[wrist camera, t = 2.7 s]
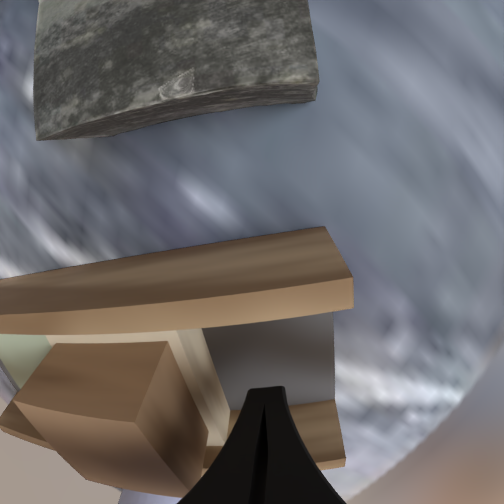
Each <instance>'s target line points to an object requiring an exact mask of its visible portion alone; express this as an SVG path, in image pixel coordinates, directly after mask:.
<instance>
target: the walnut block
mask: <svg viewBox="0 0 504 504" xmlns="http://www.w3.org/2000/svg"><path fill="white" fill-rule="evenodd" d="M13 401H14V403H15V404H16V405H17V407H18V408H19V409H20V411H21V412H22V413H23V414H24V416H25V417H26V418H27V419H28V420H29V422H30V423H31V424H32V425H33V426H34V427H35V429H36V430H37V431H38V432H39V433H40V434H41V435H42V437H43V438H44V439H45V440H46V441H47V442H48V443H49V444H50V445H51V446H52V447H53V448H54V449H55V450H56V451H57V453H58V454H59V455H60V456H62V457H63V459H64V460H66V461H67V462H68V463H69V464H70V465H71V466H72V467H73V468H74V469H75V470H76V471H77V472H78V473H80V475H81V476H83V477H84V478H85V479H86V480H90V481H93V482H97V483H101V484H105V485H109V486H113V487H118V488H122V489H127V490H132V491H137V492H143V493H149V494H155V495H162V496H169V497H178V498H183V497H184V496H185V495H186V494H187V493H188V492H189V491H190V490H191V489H192V488H193V487H194V486H195V484H196V483H197V482H198V481H199V480H200V478H201V474H202V468H203V462H204V456H205V451H206V445H207V439H208V434H209V430H208V428H207V426H206V424H205V422H204V420H203V418H202V416H201V414H200V412H199V410H198V408H197V406H196V404H195V402H194V400H193V398H192V395H191V393H190V391H189V389H188V387H187V385H186V382H185V380H184V378H183V376H182V373H181V371H180V369H179V366H178V364H177V362H176V359H175V357H174V355H173V352H172V350H171V347H170V345H169V342H168V341H155V342H131V343H56V344H55V345H54V346H53V347H52V349H51V350H50V351H49V352H48V354H47V355H46V356H45V358H44V359H43V360H42V361H41V363H40V364H39V365H38V367H37V368H36V369H35V371H34V372H33V373H32V375H31V376H30V377H29V379H28V380H27V381H26V383H25V384H24V385H23V387H22V388H21V389H20V391H19V392H18V394H17V395H16V396H15V398H14V399H13Z"/></svg>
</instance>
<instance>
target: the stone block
mask: <svg viewBox="0 0 504 504" xmlns="http://www.w3.org/2000/svg"><path fill="white" fill-rule="evenodd" d="M38 1H39V9H38V17H37V26H36V39H35V49H34V86H33V97H34V118H35V131H36V141H41V140H59V139H73V138H89V137H107V136H115V135H117V134H119V133H123V132H127V131H131V130H135V129H139V128H142V127H146V126H149V125H154V124H158V123H162V122H167V121H171V120H176V119H181V118H186V117H191V116H196V115H201V114H207V113H212V112H222V111H227V110H233V109H240V108H245V107H252V106H259V105H273V104H282V103H290V104H296V103H306V102H310V101H315V100H316V95H317V85H318V83H319V73H318V64H317V56H316V49H315V42H314V36H313V31H312V25H311V19H310V12H309V6H308V0H38Z"/></svg>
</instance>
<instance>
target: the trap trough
mask: <svg viewBox="0 0 504 504" xmlns="http://www.w3.org/2000/svg"><path fill="white" fill-rule="evenodd" d="M351 308H354V294H353V276H352V274H351V273H350V271H349V269H348V267H347V265H346V263H345V261H344V260H343V258H342V256H341V254H340V252H339V251H338V249H337V247H336V245H335V243H334V242H333V240H332V238H331V236H330V235H329V233H328V231H327V229H326V228H325V226H324V227H317V228H310V229H304V230H297V231H290V232H283V233H277V234H270V235H263V236H257V237H250V238H244V239H237V240H231V241H224V242H218V243H211V244H205V245H199V246H193V247H186V248H180V249H174V250H168V251H162V252H155V253H149V254H143V255H137V256H131V257H125V258H119V259H114V260H108V261H102V262H96V263H90V264H84V265H79V266H73V267H67V268H62V269H56V270H50V271H45V272H39V273H34V274H28V275H23V276H17V277H12V278H7V279H1V280H0V367H1V368H2V370H3V371H4V373H5V374H6V376H7V377H8V379H9V380H10V382H11V383H12V385H13V386H14V387H15V389H16V390H17V393H16V395H17V394H18V392H19V391H20V389H21V388H22V387H23V385H24V384H25V383H26V381H27V380H28V379H29V377H30V376H31V375H32V373H33V372H34V371H35V369H36V368H37V367H38V365H39V364H40V363H41V361H42V360H43V359H44V358H45V356H46V355H47V354H48V352H49V351H50V350H51V349H52V347H53V346H54V345H55V344H56V343H131V342H155V341H168V342H169V345H170V347H171V350H172V352H173V355H174V357H175V359H176V362H177V364H178V366H179V369H180V371H181V373H182V376H183V378H184V380H185V382H186V385H187V387H188V389H189V391H190V393H191V395H192V398H193V400H194V402H195V404H196V406H197V408H198V410H199V412H200V414H201V416H202V418H203V420H204V422H205V424H206V426H207V428H208V430H209V434H208V439H207V445H206V451H205V456H204V462H203V468H202V474H201V476H203V475H204V474H205V472H206V471H207V470H208V468H209V467H210V466H211V464H212V463H213V461H214V460H215V459H216V457H217V455H218V454H219V452H220V451H221V449H222V447H223V446H224V444H225V442H226V440H227V439H228V437H229V435H230V433H231V431H232V429H233V427H234V425H235V423H236V421H237V419H238V416H239V414H240V412H241V409H242V407H243V404H244V401H245V398H246V395H247V392H248V390H249V389H252V388H263V387H273V386H284V387H285V390H286V396H287V402H288V406H289V410H290V413H291V415H292V418H293V421H294V423H295V425H296V428H297V430H298V432H299V434H300V436H301V438H302V440H303V442H304V444H305V446H306V448H307V450H308V452H309V453H310V455H311V457H312V458H313V460H314V462H315V463H316V465H317V466H318V468H319V469H320V470H327V469H333V468H339V467H344V466H345V461H346V456H345V450H344V445H343V439H342V434H341V429H340V423H339V418H338V413H337V408H336V403H335V363H334V329H333V311H339V310H345V309H351ZM16 395H15V396H16ZM15 396H14V398H15ZM14 398H13V399H14ZM13 399H12V400H11V402H10V403H9V405H8V406H7V408H6V409H5V411H4V412H3V413H2V415H1V416H0V428H1V430H2V431H3V432H6V433H8V434H10V435H13V436H15V437H18V438H20V439H23V440H26V441H28V442H31V443H34V444H37V445H40V446H42V447H46V448H49V449H52V450H55V449H54V448H53V447H52V446H51V445H50V444H49V443H48V442H47V441H46V440H45V439H44V438H43V437H42V435H41V434H40V433H39V432H38V431H37V430H36V429H35V427H34V426H33V425H32V424H31V423H30V422H29V420H28V419H27V418H26V417H25V416H24V414H23V413H22V412H21V411H20V409H19V408H18V407H17V405H16V404H15V403H14V401H13ZM55 451H56V450H55Z"/></svg>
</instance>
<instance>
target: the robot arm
mask: <svg viewBox="0 0 504 504" xmlns="http://www.w3.org/2000/svg"><path fill="white" fill-rule="evenodd" d="M118 504H346V503H345V501H344V500H343V499H342V498H341V497H340V496H339V495H338V493H337V492H336V491H335V490H334V488H333V487H332V486H331V484H330V483H329V482H328V481H327V479H326V478H325V477H324V475H323V474H322V472H321V471H320V469H319V468H318V466H317V465H316V463H315V462H314V460H313V458H312V457H311V455H310V453H309V452H308V450H307V448H306V446H305V444H304V442H303V440H302V438H301V436H300V434H299V432H298V430H297V428H296V425H295V423H294V421H293V418H292V415H291V413H290V410H289V406H288V402H287V396H286V390H285V387H284V386H273V387H263V388H252V389H249V390H248V392H247V395H246V398H245V401H244V404H243V407H242V409H241V412H240V414H239V416H238V419H237V421H236V423H235V425H234V427H233V429H232V431H231V433H230V435H229V437H228V439H227V440H226V442H225V444H224V446H223V447H222V449H221V451H220V452H219V454H218V455H217V457H216V459H215V460H214V461H213V463H212V464H211V466H210V467H209V468H208V470H207V471H206V472H205V474H204V475H203V476H202V477H201V478H200V480H199V481H198V482H197V483H196V484H195V486H194V487H193V488H192V489H191V490H190V491H189V492H188V493H187V494H186V495H185V496H184V497H183V498H178V497H169V496H162V495H155V494H149V493H143V492H137V491H132V490H127V489H122V493H121V496H120V499H119V503H118Z"/></svg>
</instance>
